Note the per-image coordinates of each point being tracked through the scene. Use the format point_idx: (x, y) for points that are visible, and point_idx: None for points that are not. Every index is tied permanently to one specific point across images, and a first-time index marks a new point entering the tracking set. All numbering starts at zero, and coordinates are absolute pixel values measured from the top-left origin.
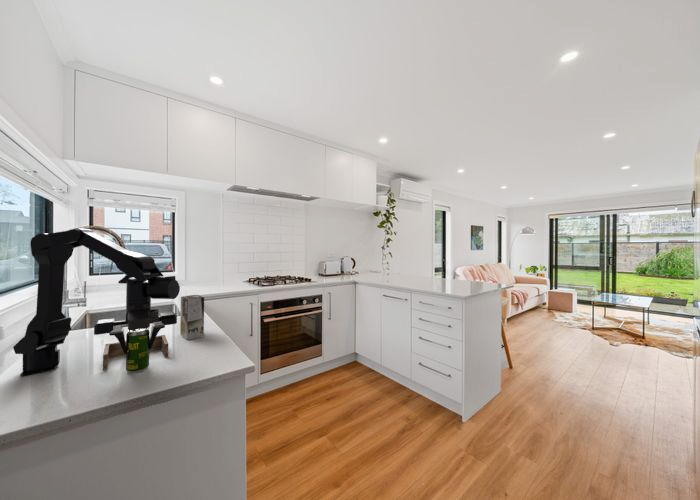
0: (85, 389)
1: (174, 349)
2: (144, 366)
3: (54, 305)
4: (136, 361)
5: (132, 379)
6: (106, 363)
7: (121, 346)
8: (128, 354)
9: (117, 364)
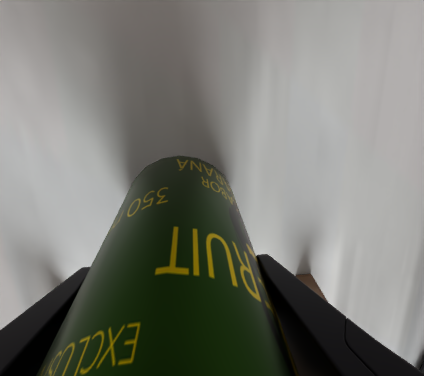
0: (395, 79)
1: None
2: (144, 170)
3: None
4: (184, 177)
5: (200, 71)
6: None
7: (318, 296)
8: (241, 226)
9: None
